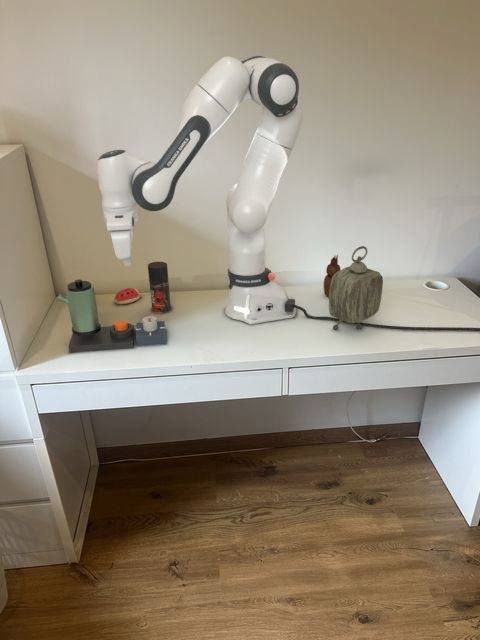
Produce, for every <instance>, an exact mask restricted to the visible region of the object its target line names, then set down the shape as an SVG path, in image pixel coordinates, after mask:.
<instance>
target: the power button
mask: <svg viewBox="0 0 480 640" xmlns="http://www.w3.org/2000/svg"><path fill="white" fill-rule="evenodd" d="M128 323H129V322H128V321H127V320H126V319H119V320H115V321H114V322H113V325H115V330H116V331H124V330H127V329H128Z"/></svg>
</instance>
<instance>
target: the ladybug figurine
mask: <svg viewBox="0 0 480 640" xmlns="http://www.w3.org/2000/svg"><path fill="white" fill-rule="evenodd" d="M140 298H141V292H140V291H139V289H137V288H135V287H125V288H123V289H121V290H119V291H117V292H116V294H115V296H114V300H113V301H114V303H115V304H117V305H128V304H131V303H134V302H136V301H138V300H139V299H140Z"/></svg>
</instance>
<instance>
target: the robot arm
mask: <svg viewBox="0 0 480 640" xmlns="http://www.w3.org/2000/svg"><path fill="white" fill-rule="evenodd" d="M299 92H300V82H299V78H298V76H297V73H296V72H295V71H294V70H293V69H292V68H291V67H290V66H289V65H287V64H285V63H283V62H281V61H280V60H278V59H275V58H271V57H265V56H262V55H256V56H250V57H248V58H247V59H244V60H242V61H240V60H239V59H238V58H236V57H233V56H228V55H227V56H223V57H221V58H220V59H219V60H217V61H216V62H215V63H214V64H213V65H212V66H211V67H210V68H208V70H207V71H206V72H205V73H204V74H203V75H202V76H201V78H200V79H199V80H198V81H197V83H196V84H195V85H194V86H193V88H192V89H191V91H190V93H189V94H188V96H187V97H186V99H185V102H184V104H183V106H182V108H181V118H180V124H179V129H178V131H177V133H176V135H175V137H174V139H173V140H172V141H171V143H170V144H169V146H168V147H167V148H166V150H164V152H163V153H162V155H161V156H160V158H159V159H158V160H157V162H155V161H151V160H147V159H143V158H141V157H137V156H135V155H133V154H131V153H130V152H128V151H127V150H125V149H115V150H109V151H107V152H105V153H102V154H101V155H100V156H99V157H98V159H97V161H96V173H97V182H98V183H97V184H98V189H99V191H100V194H101V199H102V200H101V208H102V214H103V220H104V224H105V225H106V230H107V231H108V232H109V234H110V239H111V243H112V247H113V250H114V253H115V257H116V260H118V261H123V265H124V266H125V267H131V266H132V250H133V242H134V231H133V229H134V228H135V224H136V223H137V222H138V221H139V215H138V214H139V213H138V206H139V207H140V208H142V210H143V209H144V210H146V211H148V212H158V211H162V210H164V209H165V208H167V207H168V206H169V205H170V204H171V203H172V201H173V198H174V195H175V191H176V187H177V184H178V182H179V180H180V178H181V176H182V175H183V174H184V172H185V171H186V170H187V168H188V167H189V166H190V164H191V163H192V161H193V160H194V158H195V157H196V156H197V155H198V153H199V152H200V151H201V149H202V147H203V146H205V145H206V143H207V142H209V140H210V139H211V138H212V137H213V136H214V135H215V134H216V133H217V132H218V131H220V129H221V127H222V126H223V125H224V124H225V123H226V122H227V121H228V120H229V118H230V117H231V116H232V115H233V113H234V112H235V111H236V109H237V107H238V106H240V105H241V104H242V103H243V102H244V101H247V100H251V101H253V103H255V104H257V105H259V106H261V118H260V121H259V124H258V126H257V128H256V131H255V133H254V135H253V138H252V141H251V143H250V146H249V147H248V150H247V153H246V155H245V158H244V160H243V164H242V168H241V171H240V173H239V177H238V180H237V183H235V184H234V185H233V186H231V187H230V189H229V191H228V192H227V195H226V200H225V201H226V223H227V241H228V242H227V243H228V269H227V275H226V276H227V277H226V279H227V288H228V292H227V293H228V295H227V302H226V306H225V309H224V313H225V315H226V316H227V317H229V318H230V319H234V320H236V321H240V322H244V323H246V324H248V325H255V324H263V323H268V322H273V321H280V320H287V319H292V318H295V316H296V315H297V310H300V311H301V312H303V315H304V316H305V317H306V318H307V319H312V320H321V321H322V320H329V321H335V322H338V321H339V320H340V319H338V318H336V317H333V316H313V315H310V314H308V312H307V310H306V309H305V308H304V307H302V306H299V305H298V304H296V299H295V298H289V295H288V292H287V290H286V289H285V288H284V286H282V285H280V284H279V283H277V282H276V281H275V280H276V276H275V274H274V273H273V272H272V270H271V269H270V268H269V267H268V266H267V267H266V235H265V224H266V222H267V219H268V216H269V213H270V210H271V207H272V205H273V202H274V199H275V196H276V192H277V190H278V186H279V183H280V179H281V176H282V175H283V172H284V170H285V168H286V165H287V163H288V161H289V158H290V156H291V153H292V151H293V149H294V146H295V144H296V141H297V138H298V136H299V133H300V130H301V127H302V126H301V125H302V121H303V117H304V114H303V110H302V108H301V106H300V105H299V104H298V101H299V100H298V98H299ZM137 205H138V206H137ZM341 323H344V324H350V325H355V326H357V325H358V322H357V323H348V322H346V321H342V322H341ZM360 325H361V326H362V327H370V328H380V329H390V330H405V331H468V332H469V331H473V332H480V327H455V326H452V327H450V326H447V327H446V326H445V327H444V326H443V327H441V326H440V327H438V326H437V327H436V326H435V327H434V326H433V327H432V326H403V325H402V326H401V325H400V326H399V325H387V324H386V325H385V324H378V323H377V324H376V323H370V322H369V323H368V322H363V321H361V322H360Z"/></svg>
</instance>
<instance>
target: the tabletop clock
mask: <svg viewBox="0 0 480 640" xmlns="http://www.w3.org/2000/svg"><path fill="white" fill-rule="evenodd" d="M359 250H365V253H364V255H363V256H361V255H359V256H357V258H356V259H354V256H355V254H356V253H357V252H358V251H359ZM367 255H368V248H367V247H366V246H365V245H361V246H359V247H357V248H356V249H354V251H353V252H352V254H351V261H352V262H353V263H351V264H350V265H349V266H346V267H344V268H342V269H340V271H338V272H337V273H335V274H334V275H333V277H332V280H331V285H330V292H329V297H328V314H329V316H330V317H333V318H338V319H340V320H339V321H337V323H336V324H333V326H332V329H333V330H335V331H336V330H338V329H339V326H340V324H341V323H343V322H342V321H346V322H348V323H347V324H350V323H357V322H358V325H355V326H356V327H355V328H356V329H357V330H360V331H361V329H362V328H363V326H362V325H360V322H363V321H366V320H368V319H369V318H371V317H374V316H375V315H376V314H377V313H379V310H380V306H381V303H382V302H381V301H382V295H383V285H384V279H383V275H382V274H381V272H379V271H378V270H374V269H370V268H368V267H367V265H366V264H365V263H364V262H363V260H364V259H365V258H366V257H367Z"/></svg>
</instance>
